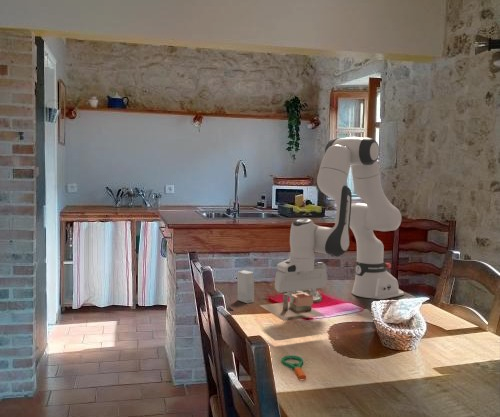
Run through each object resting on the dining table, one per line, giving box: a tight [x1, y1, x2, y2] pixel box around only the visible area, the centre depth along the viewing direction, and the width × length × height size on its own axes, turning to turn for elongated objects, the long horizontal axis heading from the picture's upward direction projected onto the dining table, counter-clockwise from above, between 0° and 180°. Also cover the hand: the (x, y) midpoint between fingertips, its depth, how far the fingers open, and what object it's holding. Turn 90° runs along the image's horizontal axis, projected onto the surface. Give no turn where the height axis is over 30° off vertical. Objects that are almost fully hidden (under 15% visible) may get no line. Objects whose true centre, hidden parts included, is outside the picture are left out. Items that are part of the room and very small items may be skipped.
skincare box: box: [236, 269, 255, 304], centre depth 215 cm, size 6×4×12 cm
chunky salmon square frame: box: [291, 293, 314, 307], centre depth 193 cm, size 6×6×3 cm
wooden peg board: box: [259, 292, 325, 322], centre depth 199 cm, size 17×20×8 cm
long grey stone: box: [285, 288, 323, 304], centre depth 226 cm, size 35×5×10 cm
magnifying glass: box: [281, 355, 307, 380], centre depth 149 cm, size 15×6×2 cm, turn 9°
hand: (301, 301), depth 193 cm, fingers closed on chunky salmon square frame, 6 cm apart
